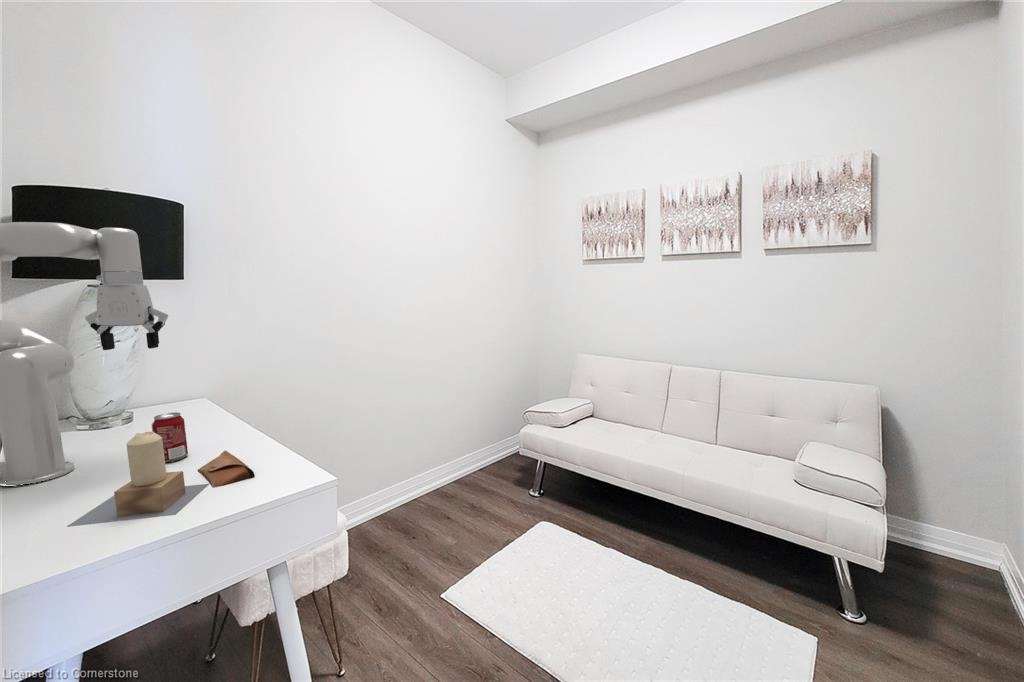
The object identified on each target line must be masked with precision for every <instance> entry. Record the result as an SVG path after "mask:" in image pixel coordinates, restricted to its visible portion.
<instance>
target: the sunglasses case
mask: <svg viewBox="0 0 1024 682" xmlns="http://www.w3.org/2000/svg"><path fill="white" fill-rule="evenodd" d="M197 472H198V473H200V475H201V476H202V477H204V479H205V480H206V481H207V482H208V484H209V485H210V486H211V488H215V489H216V488H219V487H223V486H228V485H233V484H235V483H238V482H242V481H246V480H250V479H252V478H255V472H254V471H253V469H252V468H250V467H249V466H248V465H247V464H246V463H244V462H243V461H242V460H240V459H239V458H238V457H236V456H235V455H233V454H232V453H230V452H229V451H227V450H224V451H222V452H221V453H220V454H219V455H218V456H217V457H215V458H214V459H212V460H210V461H209V462H207V463H206V464H204V465H202V466H200V468H197Z"/></svg>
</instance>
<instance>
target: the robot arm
mask: <svg viewBox="0 0 1024 682" xmlns="http://www.w3.org/2000/svg"><path fill="white" fill-rule="evenodd" d="M20 257H55V258H56V257H57V258H58V257H59V258H69V259H70V258H71V259H79V260H87V261H88V260H89V261H91V260H99V267H100V274H99V275H96V280H97V281H98V282H101V284H102V285H98V286H97V287H98V288H97V293H96V295H97V296H96V311H94V312H91V313H90V314H88V315H86V316H85V317H84V319H85V320H86V322H87V323H88V324H89V326H90V328H92V329H93V330H94V331H96V334H97V335H99V337H100V345H101V348H102V350H103V351H109V350H114V349H115V348H116V345H115V339H114V333H113V332H112V330H113V329H114V328H115V327H130V326H131V327H134V326H135V327H137V326H142V327H143V328H145V330H147V332H146V335H145V336H146V345H147V346H146V347H147V348H148V349H152V350H153V349H156V348H159V345H160V339H159V338H160V337H159V336H160V335H159V332H160V331H161V329H162V328H163V327H164V326H165V325H166V322H167V320H168V317H169V315H168V313H165V312H164V311H161V310H158V309H155V308H154V305H153V301H152V297H151V294H150V292H149V289H148V287H147V285H144V275H143V269H142V259H141V251H140V243H139V235H138V234H137V232H136V231H135V230H133V229H129V228H125V227H124V228H123V227H102V228H99V229H91V228H86V227H81V226H77V225H74V224H69V223H63V222H47V221H46V222H45V221H44V222H42V221H40V222H39V221H38V222H37V221H29V222H28V221H18V222H17V221H13V222H0V262H13V261H15V260H17V258H20ZM155 317H157V318H158V319H157V321H156V322H155ZM74 367H75V360H74V357H73V354H71V352H70V351H69V350H68V349H67V348H66V347H64V346H62V345H60V344H59V343H57V342H56V341H54V340H51V339H49V338H47V337H45V336H43V335H41V334H40V333H38V332H35V331H34V330H32V329H29V328H28V327H26V326H23V325H21V324H19V323H16V322H13V321H9V320H4V319H3V320H2V319H1V320H0V439H1V444H2V449H3V450H2V451H3V458H4V461H0V473H1V477H0V484H6V485H21V484H29V483H34V484H37V483H36V482H38V483H42V482H41V481H43V482H45V480H46V481H49V479H50V480H53V479H56V478H58V477H61V476H65V475H66V474H68V472H69V473H70V472H72V471H73V470H74V469H75V464H74V462H71V461H65V460H66V459H65V453H64V447H63V441H62V435H61V434H62V433H61V427H60V421H59V414H58V413H59V412H58V409H57V403H56V399H55V395H54V394H53V392H52V391H51V389H50V388H49V387H48V384H47V383H49V382H53V381H55V380H58V379H62V378H64V377H65V376H67V375H69V374H70V373H71V372H72V370H73V369H74ZM5 481H6V482H5ZM29 485H30V484H29Z"/></svg>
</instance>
